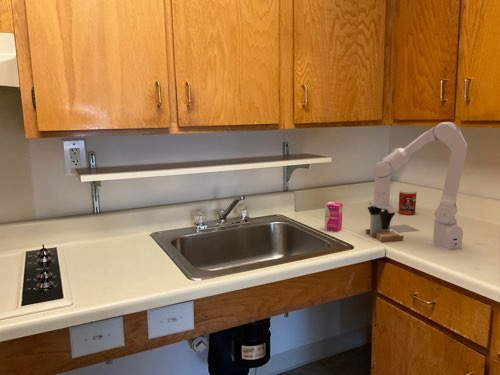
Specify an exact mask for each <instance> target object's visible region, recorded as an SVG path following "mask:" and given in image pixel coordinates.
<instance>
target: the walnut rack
mask: <svg viewBox="0 0 500 375" xmlns="http://www.w3.org/2000/svg"><path fill="white" fill-rule="evenodd" d="M389 232H395V231H394V230H390V231H389ZM377 233H384V232H376V233H373V236H371V235H370V228H367V229H366V230H365V235H367V236H369V237H372V238H373V239H375V240H377V241H378V242H381V243H382V244H384V243H394V242H395V243H396V242H403V241H404V235H399V236H390V237H381V240H379V239H377V238H376V236H377Z"/></svg>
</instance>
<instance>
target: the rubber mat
mask: <svg viewBox="0 0 500 375" xmlns="http://www.w3.org/2000/svg"><path fill="white" fill-rule="evenodd" d="M390 230H391V231H394V232H395V233H397V234H400V233H411V232H421V230H420V229H417V228H415V227H413V226H410V225H408V224H396V225H395V224H393V225H390Z"/></svg>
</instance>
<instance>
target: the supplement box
mask: <svg viewBox="0 0 500 375" xmlns="http://www.w3.org/2000/svg"><path fill="white" fill-rule="evenodd" d="M343 205H344V204H343V203H342V202H334V201H328V202H326V204H325V208H324V209H325V210H324V214H325V215H324V231H328V232H336V233H339V232H340V231H341V230H342V229H343V228H342V227H343V224H342V223H343Z"/></svg>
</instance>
